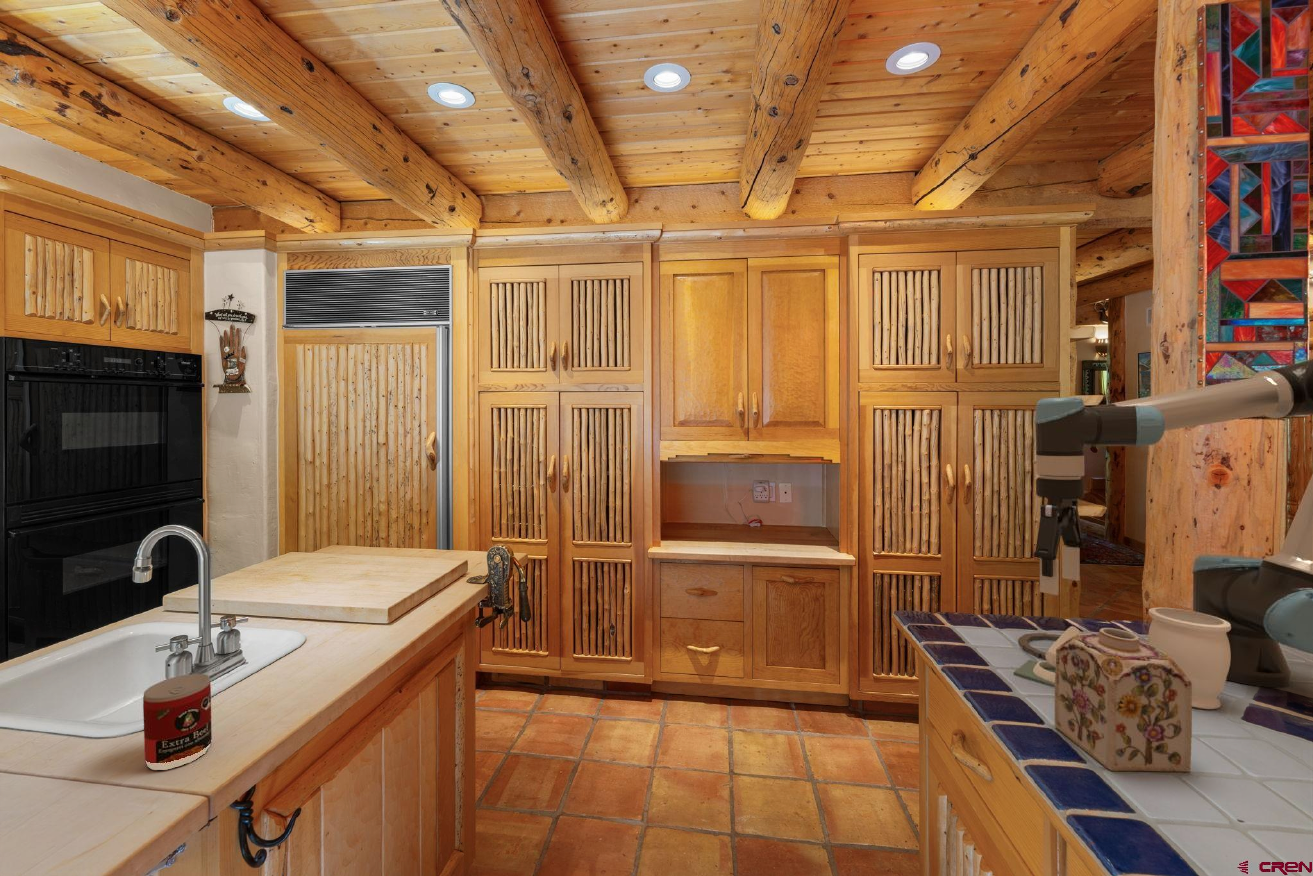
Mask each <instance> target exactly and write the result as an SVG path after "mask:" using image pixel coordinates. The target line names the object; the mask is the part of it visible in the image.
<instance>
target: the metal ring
mask: <svg viewBox="0 0 1313 876" xmlns="http://www.w3.org/2000/svg"><path fill="white" fill-rule="evenodd" d="M1061 635H1062V634H1053V633H1045V632H1037V633H1024V634H1023V635H1022V636H1020V637H1018V646H1020V648H1021V647H1022V648H1021V649H1022V650H1023V651H1024V652H1025V651H1026V652H1025V653H1028V654H1030V655H1031V656H1034V657H1036V658H1037V659H1041V661H1047V660H1046V656H1045V655H1046V653H1047V652H1043V651H1042V650H1039V649H1038V648H1036V647H1033V646H1032V645H1031V644H1030V643H1031V642H1032V640H1035V641H1051V642H1056V641H1057V640H1058V639H1059V637H1060V636H1061ZM1030 641H1031V642H1030Z"/></svg>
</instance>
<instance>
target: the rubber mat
mask: <svg viewBox="0 0 1313 876" xmlns="http://www.w3.org/2000/svg"><path fill="white" fill-rule="evenodd" d="M1038 662H1039V661H1037V660H1032V659H1028V660H1027V661H1025V663H1023V664H1022V665H1020V666H1019V667H1018V668H1017V669H1016V670H1015V671H1013V675H1014V676H1017V677H1020V678H1023V679H1027V680H1031V681H1033V682H1036V683H1040V684H1042V685H1045V686H1048V687H1052V688H1055V683H1053V682H1050V681H1047V680H1044V679H1042V678H1040V677H1038V676H1037V675H1035V674H1034V672H1033V669H1034V667H1035V665H1036V664H1037V663H1038ZM1043 669H1045V670H1047V671H1050V672H1053V673H1055V669H1051V668H1043Z"/></svg>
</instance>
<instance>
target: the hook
mask: <svg viewBox="0 0 1313 876" xmlns="http://www.w3.org/2000/svg"><path fill="white" fill-rule="evenodd" d="M1077 634H1083V632H1082V631H1081V630H1079V628H1077V627H1075V626H1073V625H1072V626H1069V627H1068V628H1067V629H1066V630H1065V631H1064V632H1063V633H1062V634H1060V635H1061V636H1060V637H1059V639H1058V640H1057V641H1054V642H1053V643H1052V644H1051V646H1050V647H1049V648H1048V650H1047V652H1045V653H1046V655H1045V656H1046V660H1047V661H1046V660H1040V661H1037V662H1038V663H1037V664H1036V665H1035V667H1034V669H1033V672H1034V674H1035V675H1037V676H1038V677H1040V678H1042V679H1044V680H1047V681H1050V682H1053V683H1055V673H1053V672H1050V671H1047V670H1045V669H1043V668H1051V669H1055V664H1056V649H1057V648H1058V647H1060V645H1062V644H1063V643H1064V642H1066V641H1067V640H1069V639H1070V638H1072V637H1074V636H1075V635H1077Z"/></svg>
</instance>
